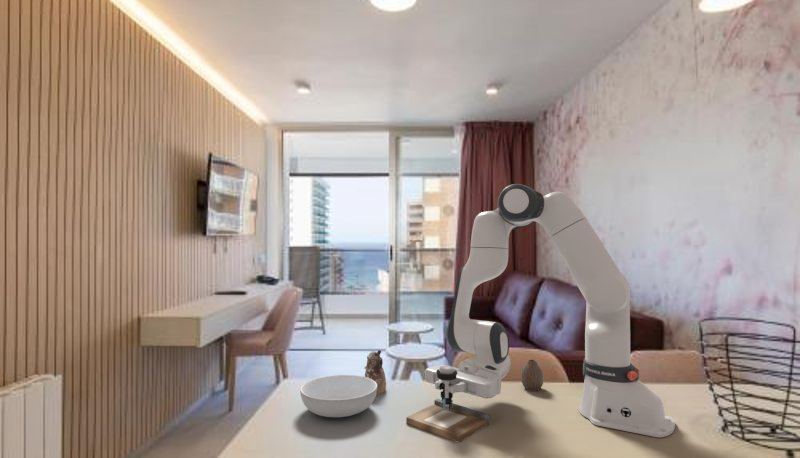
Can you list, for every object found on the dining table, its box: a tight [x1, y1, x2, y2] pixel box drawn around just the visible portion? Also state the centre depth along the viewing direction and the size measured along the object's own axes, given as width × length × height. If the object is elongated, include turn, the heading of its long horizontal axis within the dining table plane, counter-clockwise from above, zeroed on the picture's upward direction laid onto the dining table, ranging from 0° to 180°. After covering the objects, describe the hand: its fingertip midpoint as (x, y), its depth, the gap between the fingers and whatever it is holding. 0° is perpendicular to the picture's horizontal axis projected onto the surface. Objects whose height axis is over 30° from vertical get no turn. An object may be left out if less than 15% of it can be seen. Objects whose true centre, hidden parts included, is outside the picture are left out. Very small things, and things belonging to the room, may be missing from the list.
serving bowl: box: [299, 374, 377, 418], centre depth 121 cm, size 21×21×7 cm
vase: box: [520, 359, 545, 392], centre depth 140 cm, size 7×7×9 cm
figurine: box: [364, 349, 387, 395], centre depth 138 cm, size 7×7×12 cm
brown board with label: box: [405, 398, 490, 443], centre depth 113 cm, size 16×14×2 cm
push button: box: [436, 365, 457, 411], centre depth 113 cm, size 7×5×10 cm
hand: (443, 388), depth 112 cm, fingers closed on push button, 2 cm apart
